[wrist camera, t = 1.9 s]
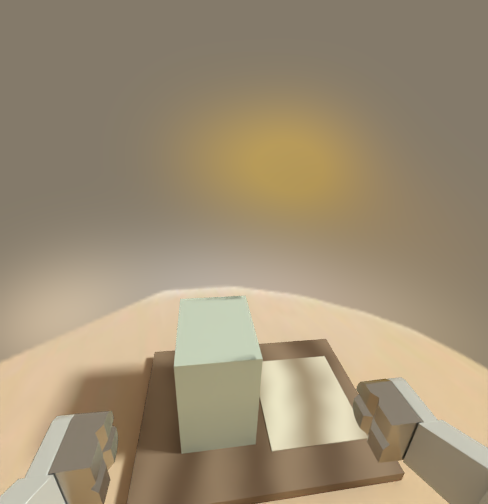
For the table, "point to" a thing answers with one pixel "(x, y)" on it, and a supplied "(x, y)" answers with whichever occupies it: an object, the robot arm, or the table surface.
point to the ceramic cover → (217, 374)
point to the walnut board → (262, 437)
